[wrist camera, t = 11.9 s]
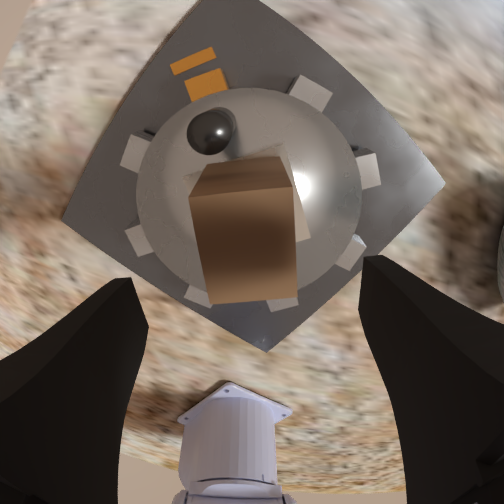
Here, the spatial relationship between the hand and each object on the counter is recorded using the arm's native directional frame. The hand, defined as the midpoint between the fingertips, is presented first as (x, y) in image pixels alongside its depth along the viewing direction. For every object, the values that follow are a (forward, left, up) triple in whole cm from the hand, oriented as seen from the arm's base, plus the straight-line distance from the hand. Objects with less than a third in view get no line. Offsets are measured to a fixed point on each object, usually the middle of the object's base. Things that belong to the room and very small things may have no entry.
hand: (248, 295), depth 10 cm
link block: (0, 0, -7) cm, 7 cm away
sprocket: (0, 0, -10) cm, 10 cm away
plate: (0, 0, -10) cm, 10 cm away
